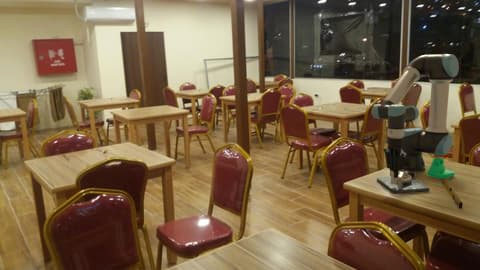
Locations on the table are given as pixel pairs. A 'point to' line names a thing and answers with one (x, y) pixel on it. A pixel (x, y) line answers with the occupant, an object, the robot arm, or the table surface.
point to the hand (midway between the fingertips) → (393, 183)
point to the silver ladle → (403, 179)
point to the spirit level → (452, 193)
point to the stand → (406, 188)
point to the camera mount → (439, 169)
